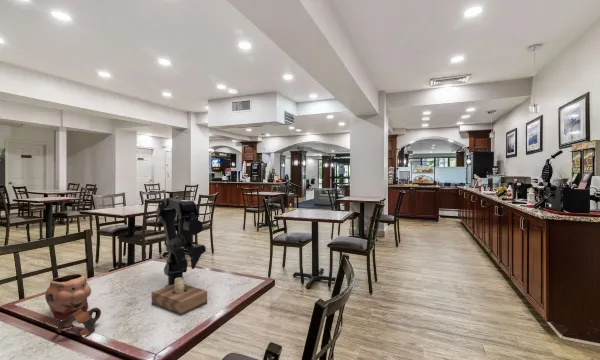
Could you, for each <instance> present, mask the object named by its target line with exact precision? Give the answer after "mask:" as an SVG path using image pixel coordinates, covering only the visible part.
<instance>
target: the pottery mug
mask: <svg viewBox="0 0 600 360" xmlns="http://www.w3.org/2000/svg"><path fill="white" fill-rule="evenodd" d="M94 313H95V315H94V317H93V314H94ZM101 314H102V311H101V308H98V307H93V308H91V309H89V310H87V312H83V311H82V309H80V310H78V311H76V312H75V313H73V314H71V315H70V316H69V317H68V318H66V319H63V320H62V321H60V320H59V322H57V324H55V326H56V327H57V330H56V332H58V333H59V334H61V333H62V330H66V328H70V327H73V328H74V324H73V321H76V323H77V324H82V325H83V326H84V328H83V329H82V330H81V331H79V335H80V336H81V335H86V334H88V335H90V334H91V333H93V332H94V331H95V330H96V327H95V326H96V322H97V321H98V320H99V319H100V317H101ZM89 333H90V334H89Z"/></svg>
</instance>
